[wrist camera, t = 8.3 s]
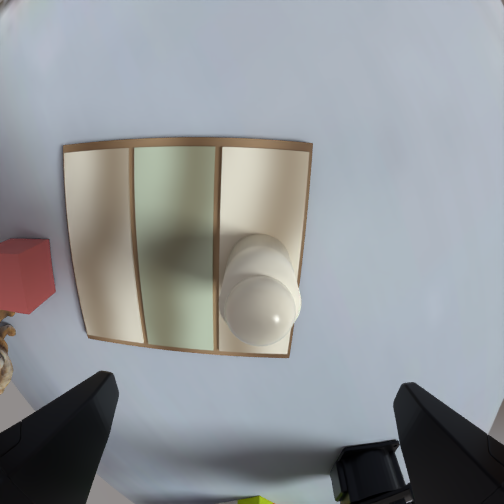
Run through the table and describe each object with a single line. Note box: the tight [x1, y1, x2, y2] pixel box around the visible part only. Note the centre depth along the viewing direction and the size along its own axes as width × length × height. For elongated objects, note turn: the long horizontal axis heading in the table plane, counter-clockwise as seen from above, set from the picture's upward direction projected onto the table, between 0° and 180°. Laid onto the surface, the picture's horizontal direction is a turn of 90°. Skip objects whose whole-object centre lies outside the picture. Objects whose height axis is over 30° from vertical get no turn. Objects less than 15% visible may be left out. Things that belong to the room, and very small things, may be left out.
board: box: [63, 137, 313, 358], centre depth 18 cm, size 15×14×1 cm
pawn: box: [219, 234, 301, 346], centre depth 15 cm, size 4×4×7 cm
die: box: [0, 238, 56, 314], centre depth 17 cm, size 4×4×4 cm
